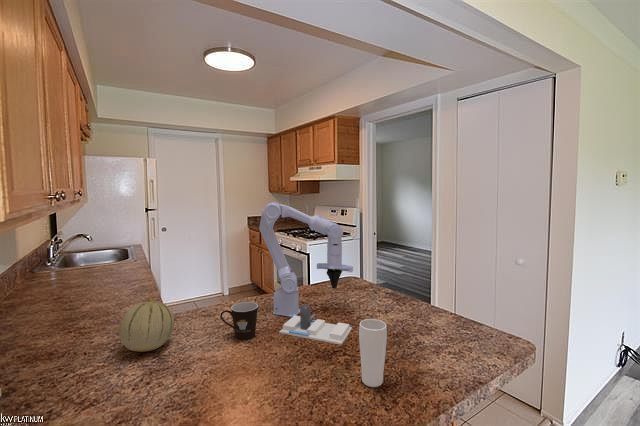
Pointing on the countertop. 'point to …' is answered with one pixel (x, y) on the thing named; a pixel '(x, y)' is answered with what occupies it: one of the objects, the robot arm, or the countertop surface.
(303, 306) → the dark grey rounded piece
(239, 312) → the coffee mug
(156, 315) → the cantaloupe
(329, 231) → the robot arm
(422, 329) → the countertop surface
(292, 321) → the white slotted board
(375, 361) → the drinking glass
